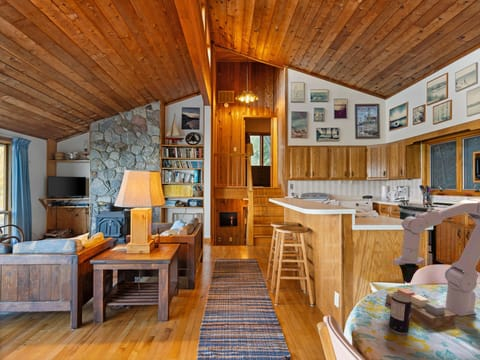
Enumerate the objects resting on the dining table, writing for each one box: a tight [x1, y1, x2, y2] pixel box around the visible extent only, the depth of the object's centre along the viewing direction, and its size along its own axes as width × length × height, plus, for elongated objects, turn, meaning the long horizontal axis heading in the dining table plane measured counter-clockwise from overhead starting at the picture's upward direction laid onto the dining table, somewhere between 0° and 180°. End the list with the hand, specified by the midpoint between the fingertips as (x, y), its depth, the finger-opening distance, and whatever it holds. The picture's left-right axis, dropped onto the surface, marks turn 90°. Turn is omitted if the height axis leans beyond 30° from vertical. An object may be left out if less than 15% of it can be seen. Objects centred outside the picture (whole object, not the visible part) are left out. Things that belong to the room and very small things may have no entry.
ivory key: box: [411, 294, 430, 307], centre depth 112 cm, size 4×4×3 cm
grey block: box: [425, 301, 445, 316], centre depth 107 cm, size 4×4×3 cm
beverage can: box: [388, 291, 412, 335], centre depth 98 cm, size 6×6×12 cm
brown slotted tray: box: [385, 292, 457, 329], centre depth 112 cm, size 12×19×4 cm, turn 21°
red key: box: [397, 287, 415, 297], centre depth 118 cm, size 4×4×3 cm
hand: (406, 282), depth 118 cm, fingers closed
